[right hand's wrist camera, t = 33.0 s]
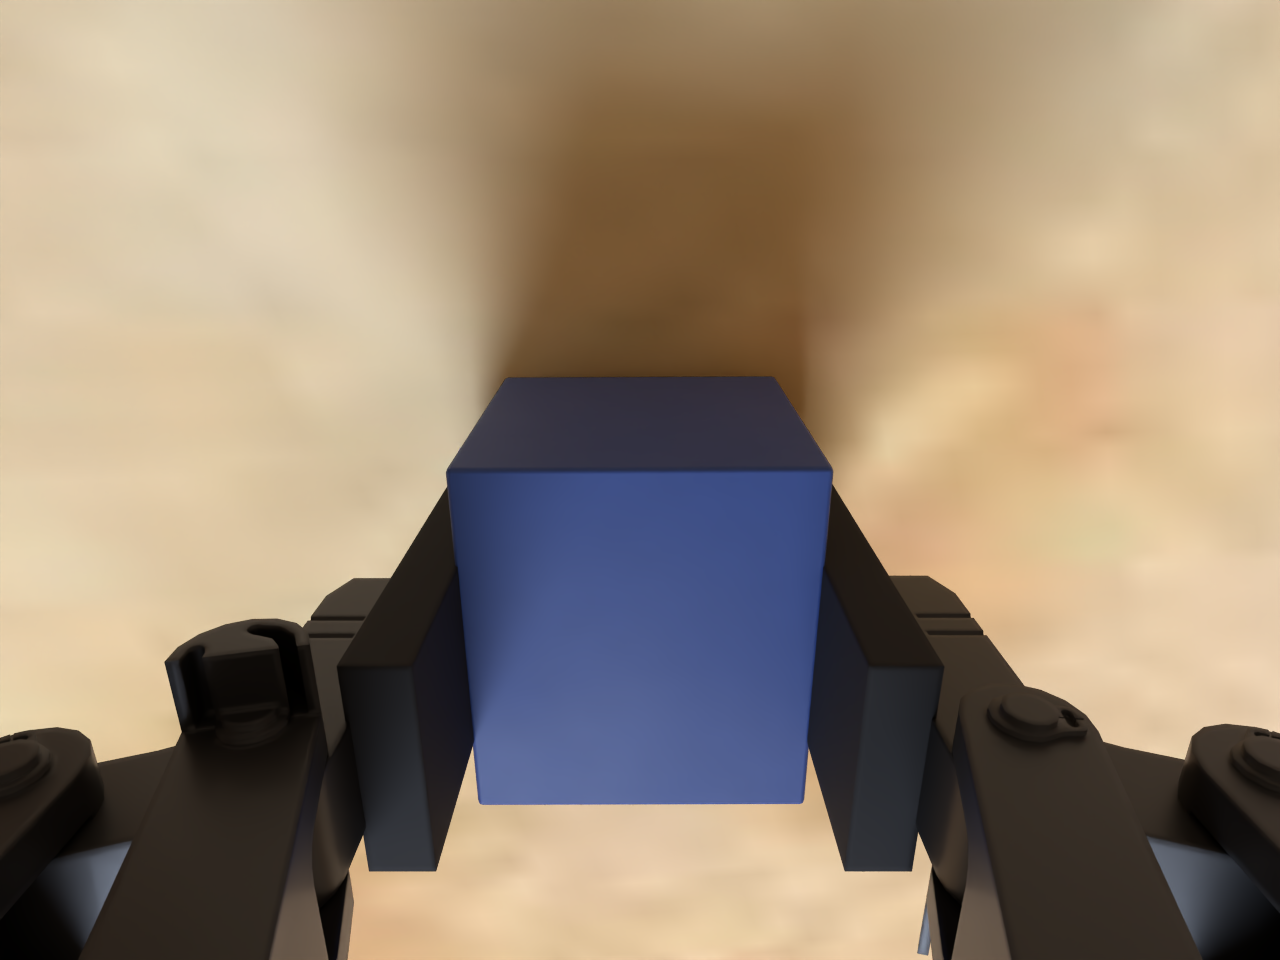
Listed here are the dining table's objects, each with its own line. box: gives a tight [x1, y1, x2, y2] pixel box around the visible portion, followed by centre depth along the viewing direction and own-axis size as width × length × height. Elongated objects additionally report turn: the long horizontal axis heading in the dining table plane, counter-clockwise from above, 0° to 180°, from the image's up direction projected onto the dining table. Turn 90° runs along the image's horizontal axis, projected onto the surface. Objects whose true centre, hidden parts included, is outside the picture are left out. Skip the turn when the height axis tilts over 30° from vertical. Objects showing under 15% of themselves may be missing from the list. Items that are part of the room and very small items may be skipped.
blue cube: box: [446, 377, 833, 805], centre depth 13 cm, size 5×5×5 cm
